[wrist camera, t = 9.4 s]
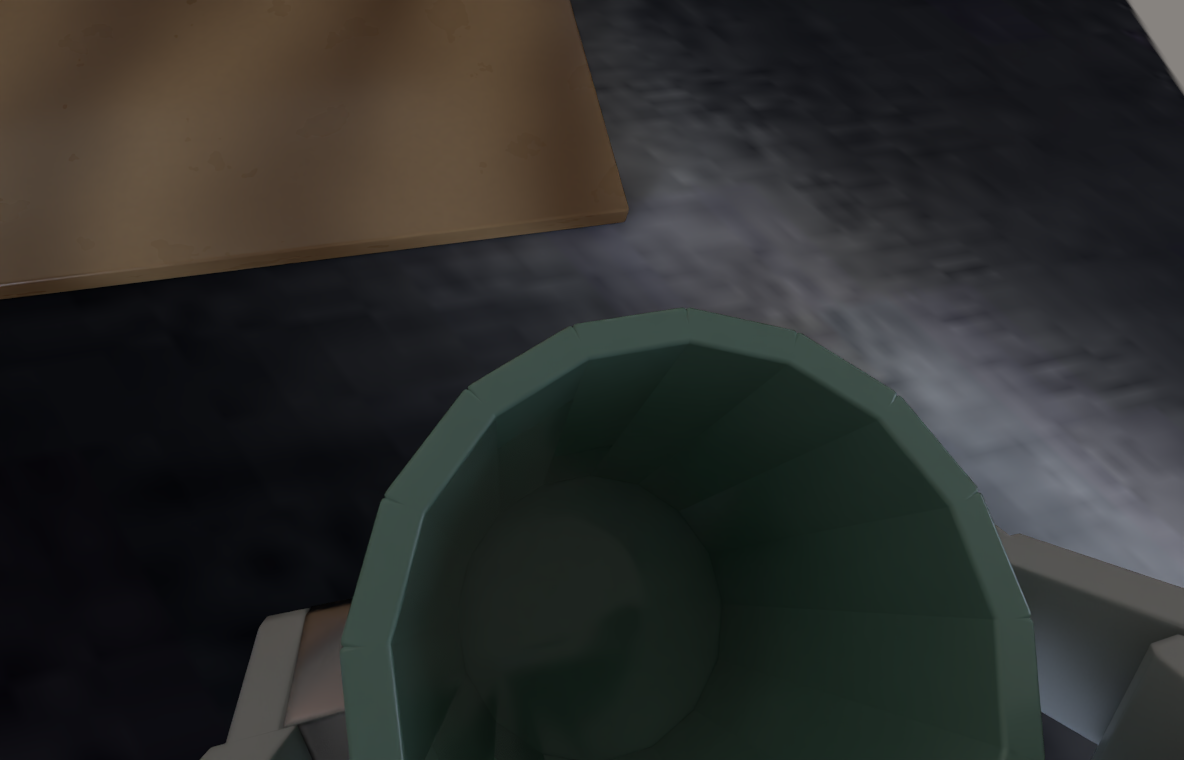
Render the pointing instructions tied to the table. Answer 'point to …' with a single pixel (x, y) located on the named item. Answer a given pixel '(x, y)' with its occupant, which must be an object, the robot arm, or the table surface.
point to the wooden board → (286, 133)
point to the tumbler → (686, 566)
